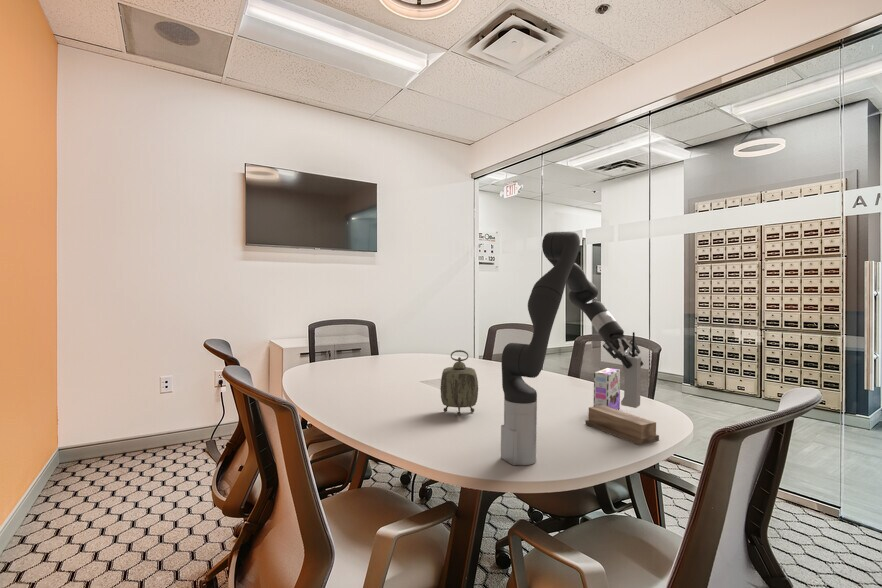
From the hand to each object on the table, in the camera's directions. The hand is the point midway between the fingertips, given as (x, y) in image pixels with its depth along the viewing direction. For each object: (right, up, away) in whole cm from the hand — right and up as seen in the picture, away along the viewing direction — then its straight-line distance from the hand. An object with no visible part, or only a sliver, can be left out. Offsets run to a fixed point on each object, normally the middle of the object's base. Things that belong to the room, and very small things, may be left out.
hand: (635, 366), depth 138 cm
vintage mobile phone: (-1, -14, +2) cm, 14 cm away
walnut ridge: (-3, -23, +5) cm, 24 cm away
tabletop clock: (-58, -23, +24) cm, 67 cm away
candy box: (+3, -24, +30) cm, 39 cm away
